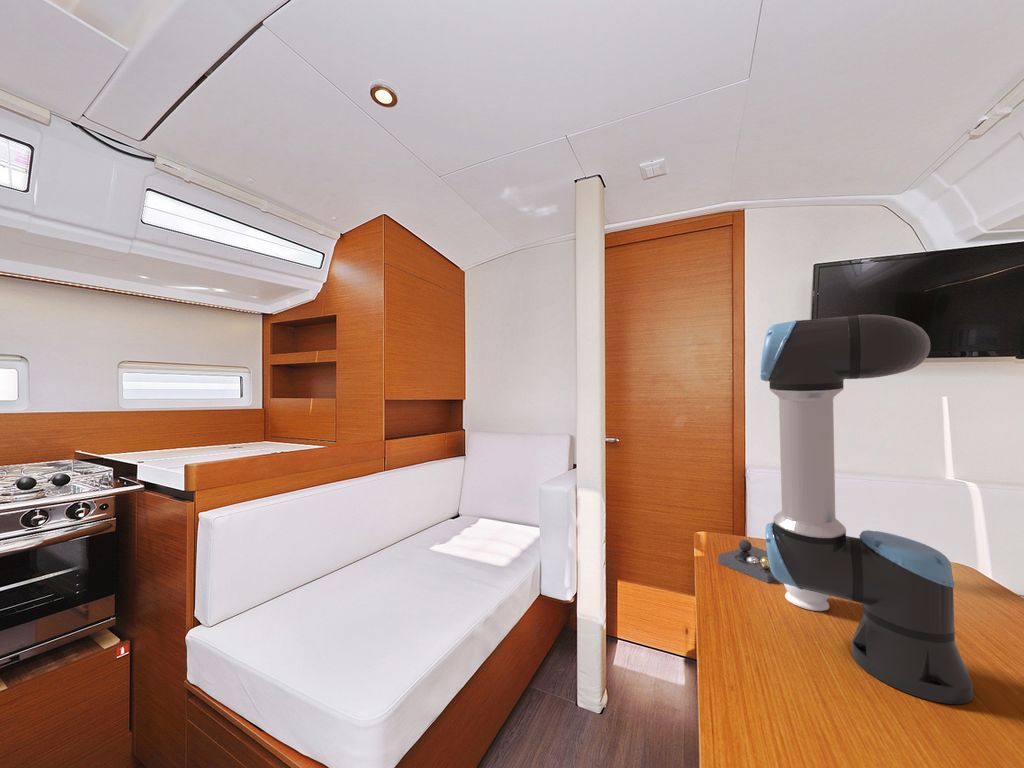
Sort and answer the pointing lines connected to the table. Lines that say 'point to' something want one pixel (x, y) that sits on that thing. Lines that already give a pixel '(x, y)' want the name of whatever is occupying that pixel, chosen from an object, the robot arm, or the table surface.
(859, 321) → the robot arm
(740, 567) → the plate
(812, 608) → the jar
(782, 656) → the table surface
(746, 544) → the black ball
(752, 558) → the ball
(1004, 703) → the table surface
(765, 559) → the brass ball
